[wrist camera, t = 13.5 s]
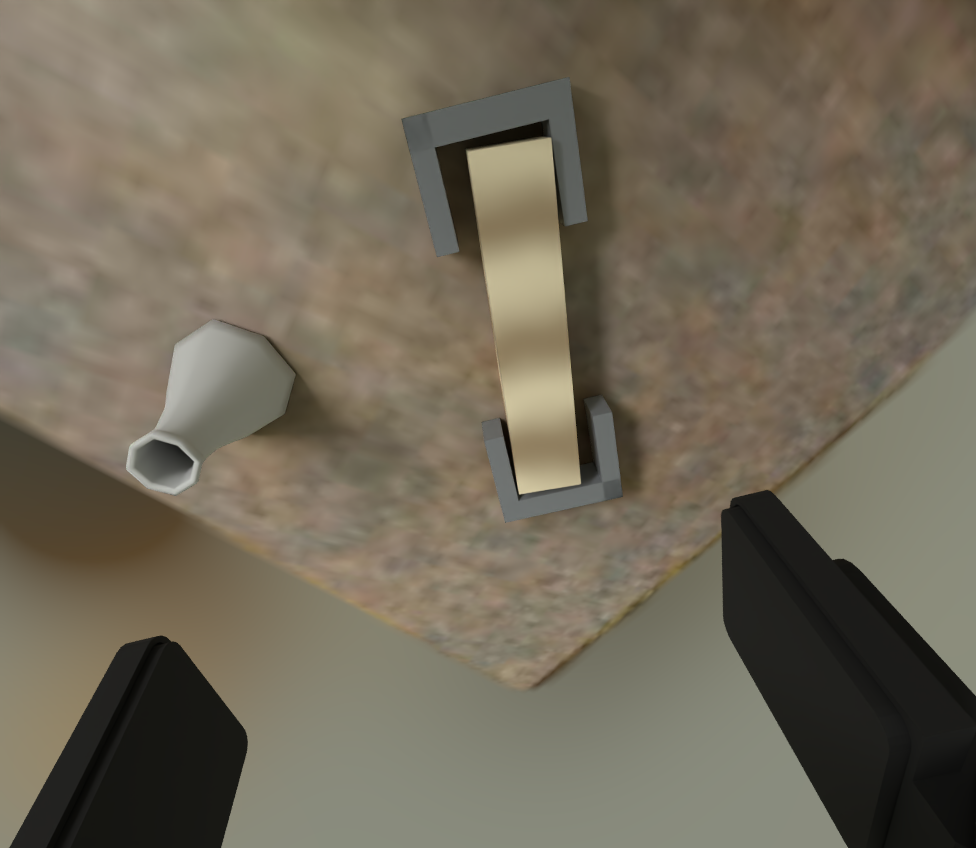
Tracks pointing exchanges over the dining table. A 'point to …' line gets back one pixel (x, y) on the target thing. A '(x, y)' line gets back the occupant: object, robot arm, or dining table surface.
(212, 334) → the flask
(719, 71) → the dining table surface
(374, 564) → the dining table surface
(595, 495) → the end cap
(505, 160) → the birch slat
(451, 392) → the dining table surface
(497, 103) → the end cap
